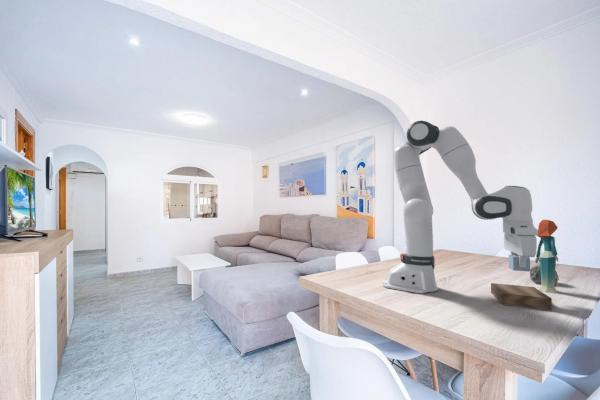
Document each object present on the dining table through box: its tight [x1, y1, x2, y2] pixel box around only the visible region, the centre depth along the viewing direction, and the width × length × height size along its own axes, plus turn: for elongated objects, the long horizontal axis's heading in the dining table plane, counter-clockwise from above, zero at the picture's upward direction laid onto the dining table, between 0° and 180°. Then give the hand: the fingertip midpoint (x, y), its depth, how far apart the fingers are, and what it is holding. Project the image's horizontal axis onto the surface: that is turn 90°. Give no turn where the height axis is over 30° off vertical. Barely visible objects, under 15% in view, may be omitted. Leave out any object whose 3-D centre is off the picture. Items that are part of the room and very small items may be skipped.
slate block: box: [508, 254, 531, 272], centre depth 100 cm, size 5×5×5 cm
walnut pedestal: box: [490, 282, 553, 311], centre depth 100 cm, size 14×14×4 cm
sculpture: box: [534, 219, 559, 294], centre depth 113 cm, size 13×7×30 cm, turn 168°
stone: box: [529, 262, 560, 285], centre depth 124 cm, size 10×10×10 cm
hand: (518, 265), depth 100 cm, fingers closed on slate block, 5 cm apart
